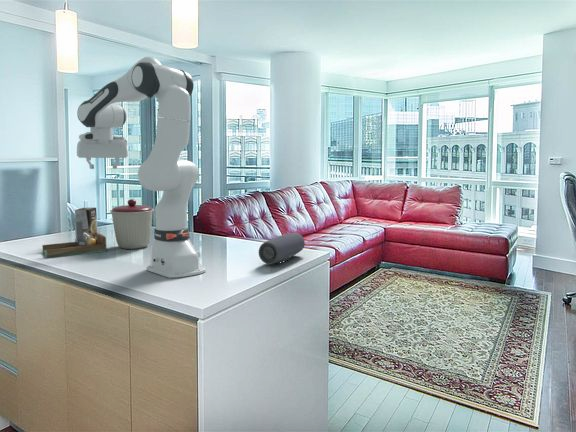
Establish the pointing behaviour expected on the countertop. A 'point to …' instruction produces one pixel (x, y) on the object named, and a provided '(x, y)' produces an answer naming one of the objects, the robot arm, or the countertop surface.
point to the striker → (79, 234)
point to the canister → (132, 225)
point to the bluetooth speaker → (281, 248)
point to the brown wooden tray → (70, 248)
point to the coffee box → (87, 220)
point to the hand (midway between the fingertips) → (103, 168)
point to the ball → (93, 241)
